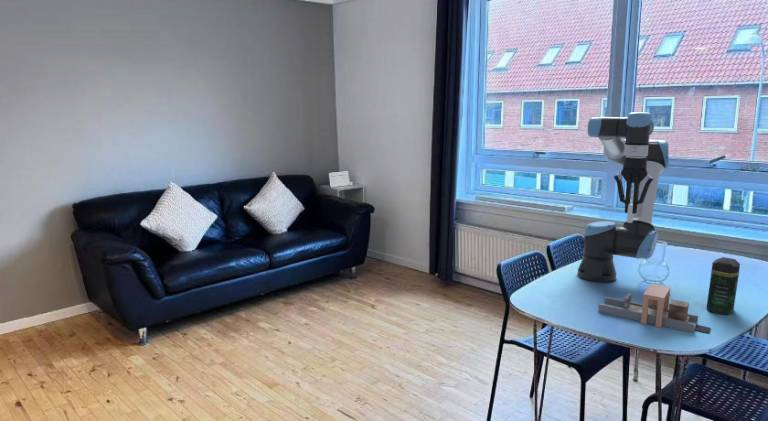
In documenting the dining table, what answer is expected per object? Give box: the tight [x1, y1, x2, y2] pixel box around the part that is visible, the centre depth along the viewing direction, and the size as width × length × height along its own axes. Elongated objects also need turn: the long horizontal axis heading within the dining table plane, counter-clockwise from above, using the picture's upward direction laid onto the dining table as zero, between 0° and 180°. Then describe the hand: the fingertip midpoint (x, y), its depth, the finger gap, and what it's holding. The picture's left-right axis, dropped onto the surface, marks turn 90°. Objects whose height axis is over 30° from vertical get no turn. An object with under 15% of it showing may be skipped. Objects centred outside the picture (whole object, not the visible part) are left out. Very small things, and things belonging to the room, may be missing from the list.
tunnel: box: [640, 283, 671, 329], centre depth 173 cm, size 6×12×10 cm, turn 143°
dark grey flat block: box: [694, 324, 712, 334], centre depth 166 cm, size 4×5×1 cm
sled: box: [623, 293, 690, 322], centre depth 173 cm, size 19×6×6 cm, turn 53°
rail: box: [597, 296, 699, 334], centre depth 176 cm, size 29×9×3 cm, turn 53°
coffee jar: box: [706, 256, 741, 315], centre depth 180 cm, size 10×8×19 cm
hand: (629, 221), depth 187 cm, fingers closed
